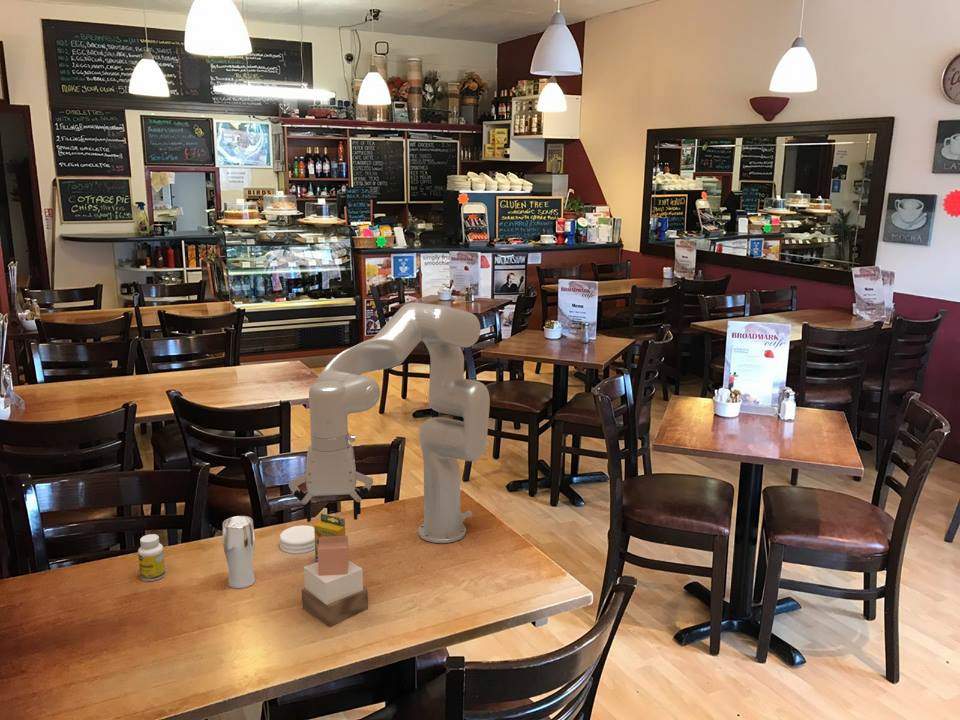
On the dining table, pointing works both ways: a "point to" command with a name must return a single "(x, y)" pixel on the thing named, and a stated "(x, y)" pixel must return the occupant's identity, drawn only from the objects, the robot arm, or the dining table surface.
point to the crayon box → (328, 529)
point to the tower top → (333, 583)
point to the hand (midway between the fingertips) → (332, 518)
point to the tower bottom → (335, 607)
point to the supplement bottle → (151, 558)
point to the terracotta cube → (333, 555)
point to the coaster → (298, 540)
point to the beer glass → (239, 550)
